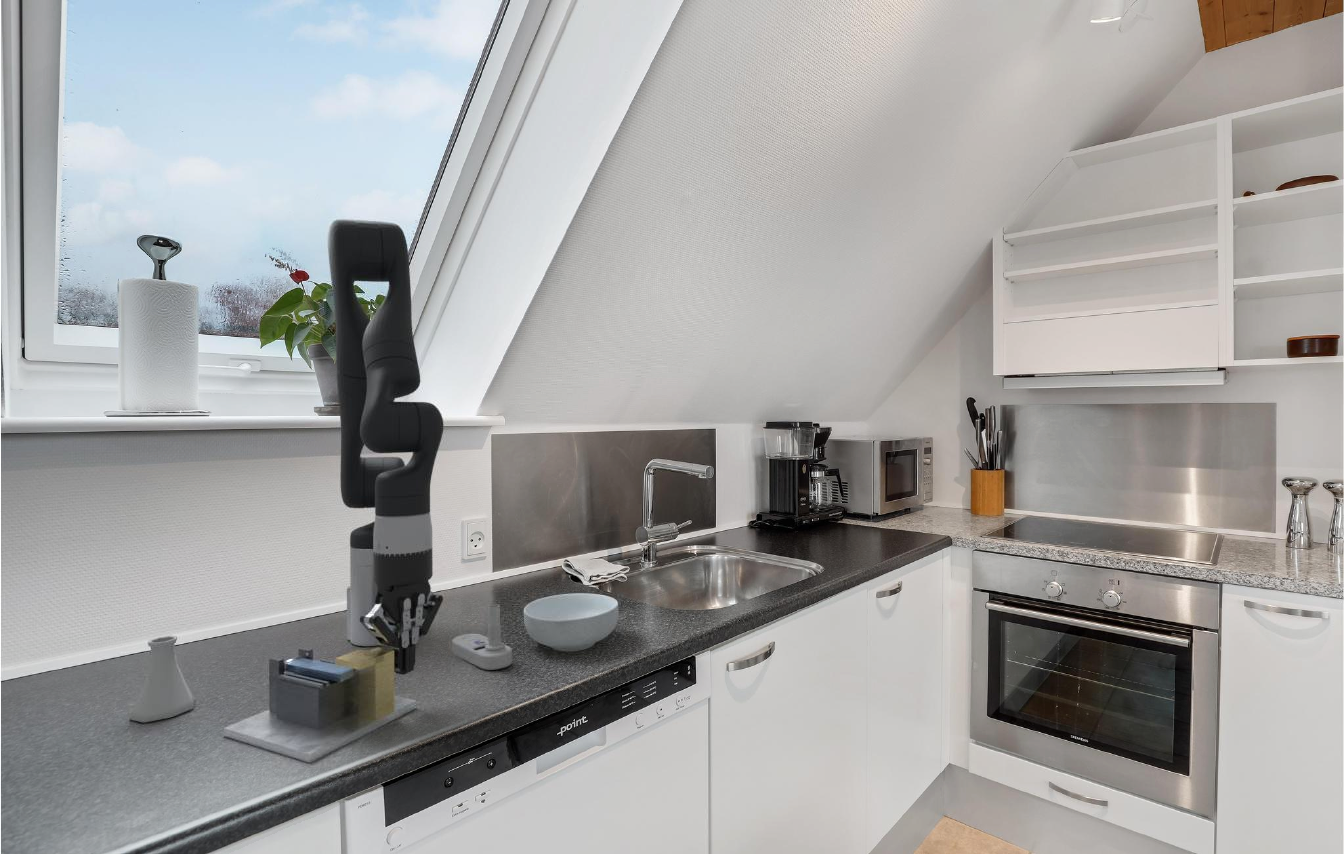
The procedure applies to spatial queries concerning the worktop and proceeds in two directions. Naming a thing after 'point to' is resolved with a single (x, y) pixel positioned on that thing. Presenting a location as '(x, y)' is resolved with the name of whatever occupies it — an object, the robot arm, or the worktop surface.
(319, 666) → the blue bar
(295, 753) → the clip base
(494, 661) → the electronic device
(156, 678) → the flask
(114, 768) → the worktop surface
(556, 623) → the cereal bowl
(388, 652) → the block
